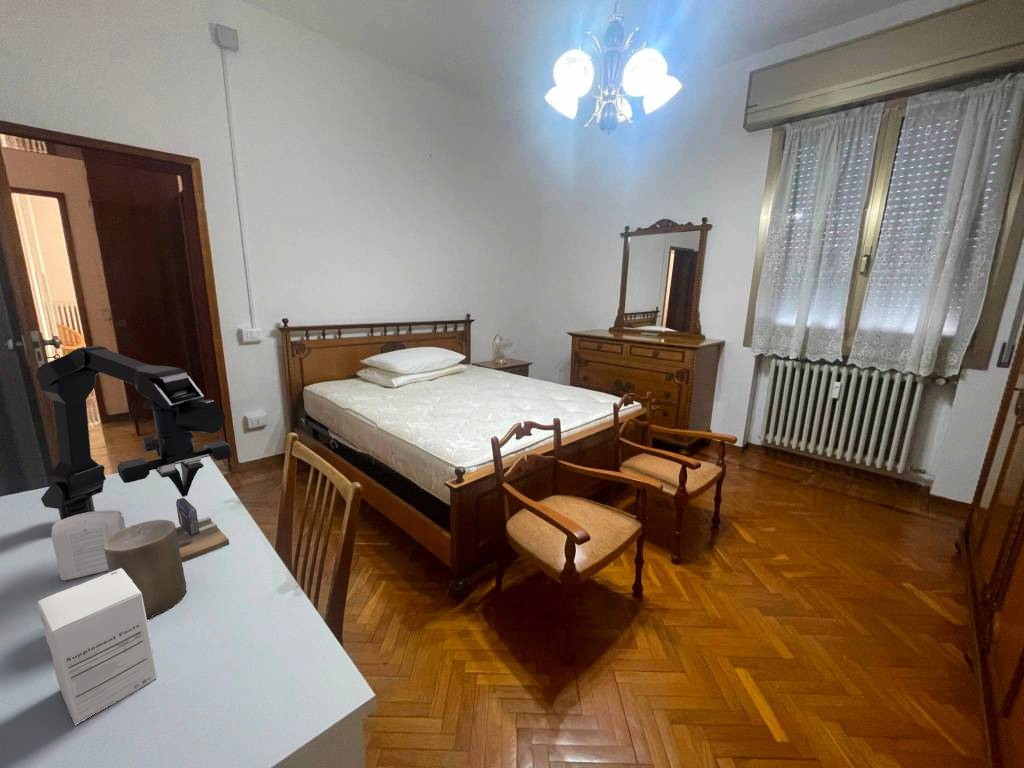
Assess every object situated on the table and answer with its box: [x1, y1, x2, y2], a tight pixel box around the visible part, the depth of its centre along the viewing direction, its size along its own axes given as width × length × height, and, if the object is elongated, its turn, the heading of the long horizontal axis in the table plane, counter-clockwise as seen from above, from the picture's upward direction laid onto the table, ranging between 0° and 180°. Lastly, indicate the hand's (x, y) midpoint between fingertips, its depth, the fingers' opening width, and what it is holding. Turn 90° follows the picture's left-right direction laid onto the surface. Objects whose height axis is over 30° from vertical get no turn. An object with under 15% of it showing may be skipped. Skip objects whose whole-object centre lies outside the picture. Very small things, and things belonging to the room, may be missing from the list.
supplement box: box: [37, 568, 158, 725], centre depth 59 cm, size 9×9×15 cm
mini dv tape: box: [175, 497, 200, 537], centre depth 93 cm, size 8×2×6 cm, turn 53°
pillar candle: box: [103, 519, 188, 618], centre depth 75 cm, size 10×10×15 cm
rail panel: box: [176, 516, 230, 564], centre depth 92 cm, size 14×12×3 cm
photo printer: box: [50, 509, 126, 581], centre depth 83 cm, size 10×4×12 cm, turn 123°
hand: (184, 495), depth 92 cm, fingers closed
